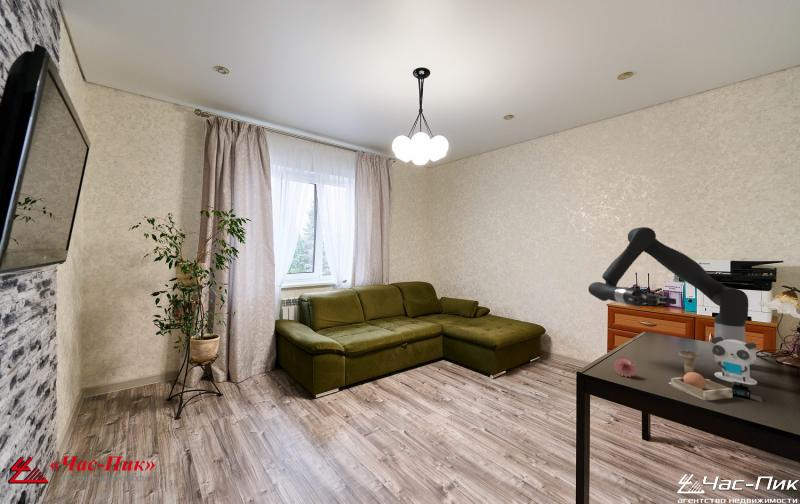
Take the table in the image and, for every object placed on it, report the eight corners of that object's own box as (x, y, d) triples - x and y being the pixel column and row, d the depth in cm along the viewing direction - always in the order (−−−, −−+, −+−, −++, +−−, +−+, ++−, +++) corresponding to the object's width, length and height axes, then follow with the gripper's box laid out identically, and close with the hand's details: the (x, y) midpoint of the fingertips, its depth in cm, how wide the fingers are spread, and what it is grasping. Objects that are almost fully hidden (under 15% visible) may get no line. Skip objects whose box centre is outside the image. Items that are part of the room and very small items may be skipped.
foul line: (707, 379, 121) (707, 378, 121) (710, 380, 120) (710, 379, 120) (668, 383, 119) (668, 382, 119) (671, 384, 118) (671, 383, 118)
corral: (696, 383, 118) (696, 375, 118) (732, 397, 107) (732, 388, 107) (671, 386, 116) (671, 378, 116) (705, 400, 105) (705, 391, 105)
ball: (699, 390, 114) (689, 373, 118) (714, 387, 110) (703, 369, 113) (685, 392, 114) (675, 375, 117) (700, 388, 109) (689, 370, 112)
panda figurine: (706, 375, 126) (706, 337, 125) (720, 370, 130) (720, 334, 130) (748, 387, 115) (748, 346, 114) (763, 381, 119) (763, 342, 119)
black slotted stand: (715, 394, 110) (715, 382, 110) (714, 388, 115) (714, 375, 115) (770, 406, 101) (770, 392, 101) (766, 398, 107) (766, 385, 107)
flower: (617, 355, 132) (619, 351, 128) (639, 367, 127) (642, 363, 123) (608, 371, 130) (610, 367, 126) (630, 383, 126) (633, 380, 121)
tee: (687, 371, 130) (687, 350, 130) (699, 375, 125) (699, 353, 125) (678, 371, 129) (678, 351, 129) (690, 376, 125) (690, 354, 125)
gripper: (615, 288, 138) (650, 293, 122) (643, 287, 140) (681, 291, 124) (615, 305, 138) (650, 312, 122) (643, 303, 140) (681, 310, 124)
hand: (666, 302), depth 123 cm, fingers open, 8 cm apart
